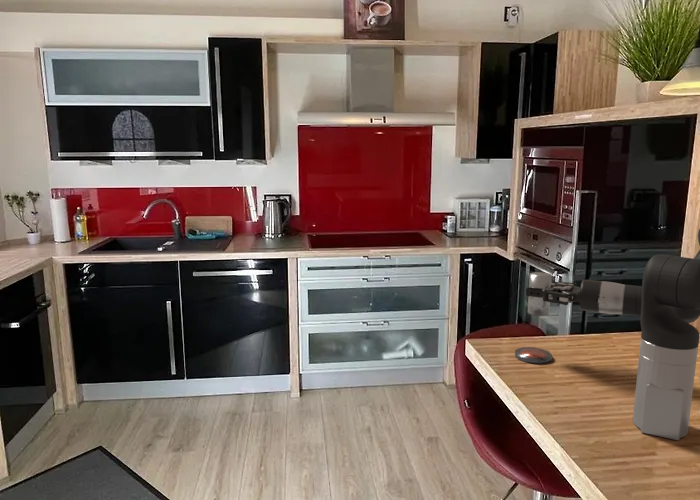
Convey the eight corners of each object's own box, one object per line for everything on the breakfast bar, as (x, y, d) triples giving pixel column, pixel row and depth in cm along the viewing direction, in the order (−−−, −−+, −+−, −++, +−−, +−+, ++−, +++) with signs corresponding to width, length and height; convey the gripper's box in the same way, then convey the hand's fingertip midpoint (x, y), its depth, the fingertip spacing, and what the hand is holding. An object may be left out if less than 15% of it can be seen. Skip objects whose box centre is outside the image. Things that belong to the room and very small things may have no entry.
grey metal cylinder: (547, 317, 130) (549, 277, 128) (525, 314, 133) (527, 275, 131) (551, 311, 134) (553, 273, 133) (530, 308, 137) (532, 271, 135)
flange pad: (548, 366, 129) (548, 362, 129) (511, 359, 134) (511, 355, 134) (554, 354, 137) (554, 350, 137) (518, 348, 141) (519, 344, 141)
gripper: (606, 275, 131) (535, 268, 139) (600, 288, 118) (523, 280, 127) (604, 304, 132) (533, 296, 140) (598, 320, 120) (521, 310, 128)
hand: (529, 288), depth 134 cm, fingers closed on grey metal cylinder, 5 cm apart
